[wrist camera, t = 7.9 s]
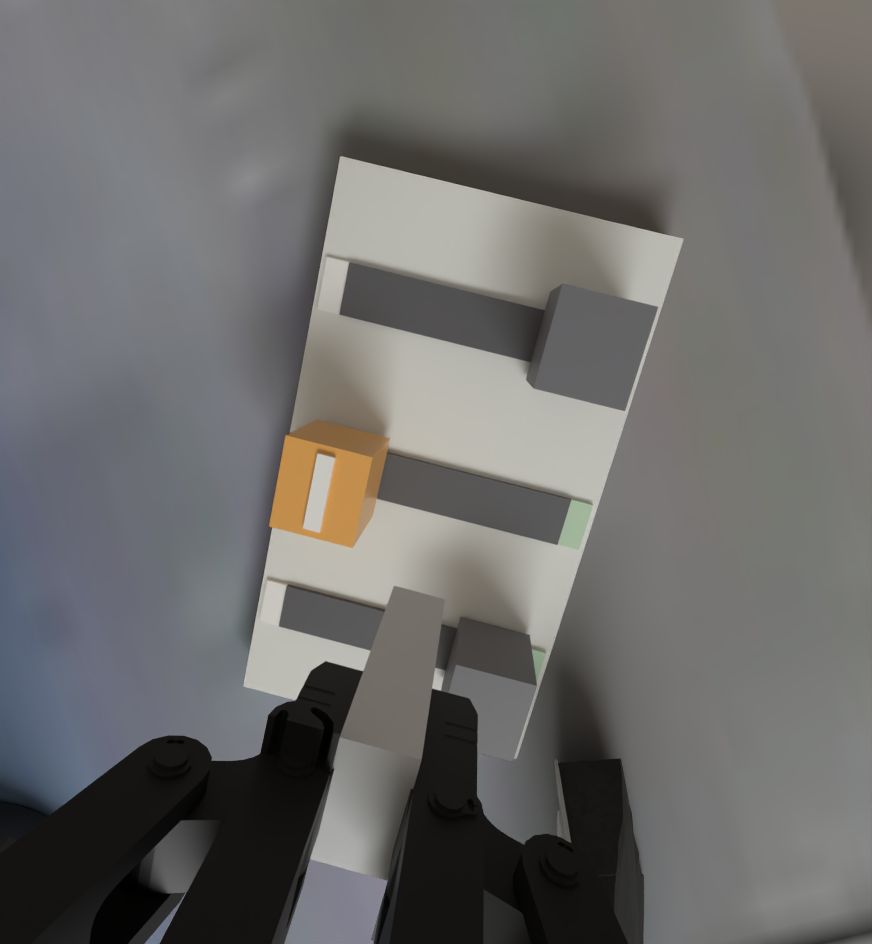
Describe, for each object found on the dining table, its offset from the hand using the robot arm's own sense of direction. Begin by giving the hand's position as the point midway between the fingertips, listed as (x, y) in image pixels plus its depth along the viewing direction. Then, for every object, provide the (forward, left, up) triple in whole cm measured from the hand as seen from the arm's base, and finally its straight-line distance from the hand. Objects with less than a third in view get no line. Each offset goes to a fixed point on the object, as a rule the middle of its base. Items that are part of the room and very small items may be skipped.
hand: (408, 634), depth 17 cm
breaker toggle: (-5, 0, -15) cm, 16 cm away
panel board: (0, 0, -18) cm, 18 cm away
